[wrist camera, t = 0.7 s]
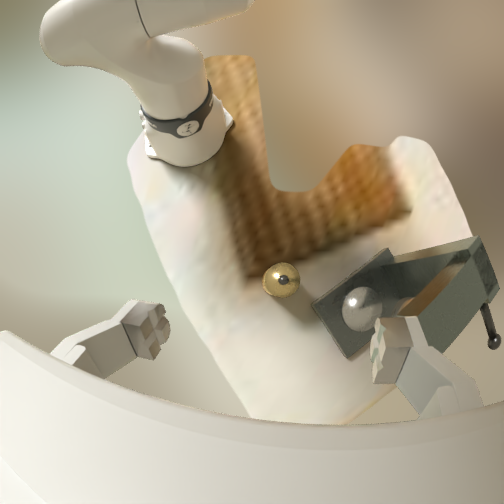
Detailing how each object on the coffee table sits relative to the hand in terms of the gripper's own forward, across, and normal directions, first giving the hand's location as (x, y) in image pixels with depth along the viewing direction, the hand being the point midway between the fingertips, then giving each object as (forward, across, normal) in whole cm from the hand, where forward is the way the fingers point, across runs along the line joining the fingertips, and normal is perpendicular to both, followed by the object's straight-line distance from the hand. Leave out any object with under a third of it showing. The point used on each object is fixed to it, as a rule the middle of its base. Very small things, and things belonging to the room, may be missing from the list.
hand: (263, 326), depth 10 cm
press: (+34, -14, +26) cm, 45 cm away
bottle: (+33, +5, +18) cm, 38 cm away
